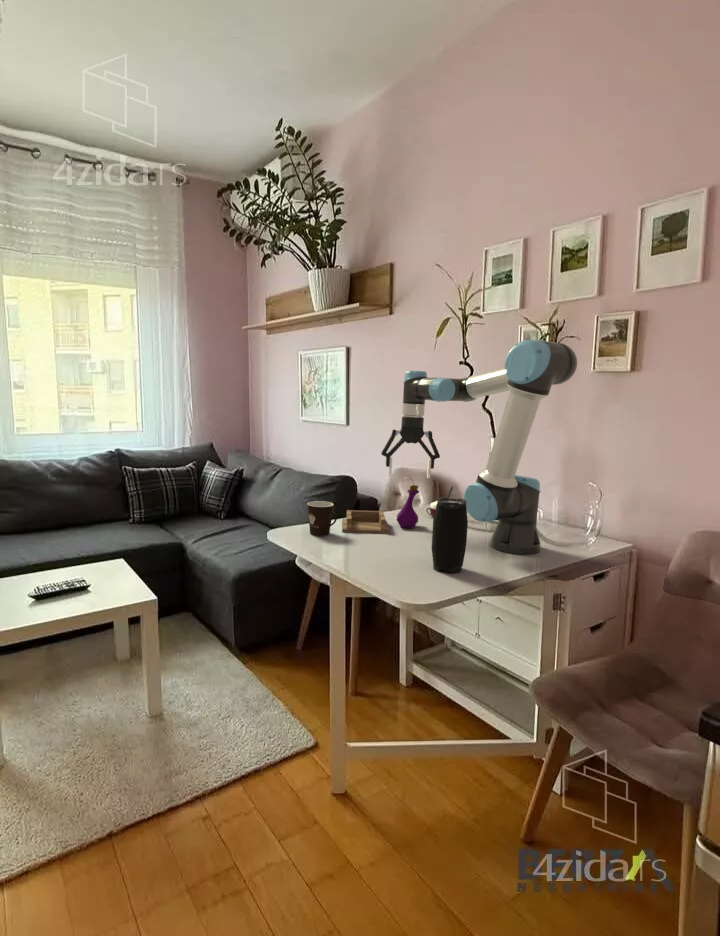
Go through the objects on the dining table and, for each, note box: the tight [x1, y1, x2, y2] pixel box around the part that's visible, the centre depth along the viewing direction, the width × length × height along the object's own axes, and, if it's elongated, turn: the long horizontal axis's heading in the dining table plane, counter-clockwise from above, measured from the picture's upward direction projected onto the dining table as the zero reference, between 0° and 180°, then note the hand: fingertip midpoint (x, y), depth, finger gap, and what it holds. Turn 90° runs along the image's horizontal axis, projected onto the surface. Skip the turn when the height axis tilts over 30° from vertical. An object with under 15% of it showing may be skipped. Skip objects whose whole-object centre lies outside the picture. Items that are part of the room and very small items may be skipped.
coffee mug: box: [307, 500, 338, 537], centre depth 184 cm, size 12×9×10 cm
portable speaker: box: [431, 496, 469, 574], centre depth 154 cm, size 9×9×20 cm
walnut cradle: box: [341, 509, 391, 535], centre depth 196 cm, size 14×16×4 cm
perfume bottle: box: [396, 476, 420, 529], centre depth 199 cm, size 8×8×18 cm
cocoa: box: [425, 486, 454, 518], centre depth 215 cm, size 10×6×12 cm, turn 68°
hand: (409, 477), depth 198 cm, fingers open, 13 cm apart
